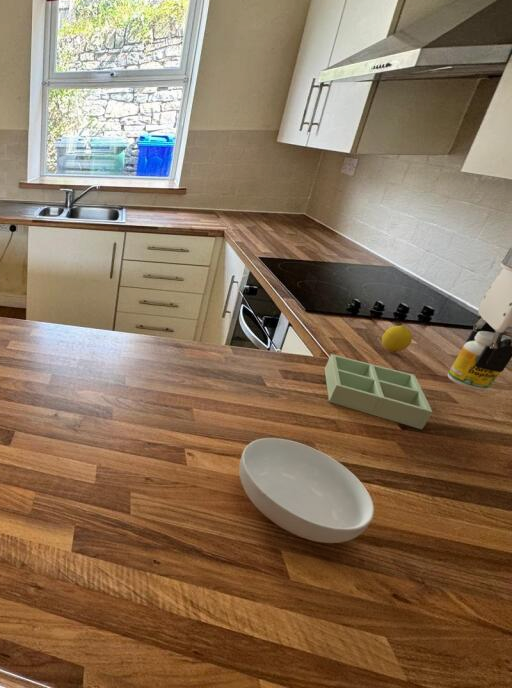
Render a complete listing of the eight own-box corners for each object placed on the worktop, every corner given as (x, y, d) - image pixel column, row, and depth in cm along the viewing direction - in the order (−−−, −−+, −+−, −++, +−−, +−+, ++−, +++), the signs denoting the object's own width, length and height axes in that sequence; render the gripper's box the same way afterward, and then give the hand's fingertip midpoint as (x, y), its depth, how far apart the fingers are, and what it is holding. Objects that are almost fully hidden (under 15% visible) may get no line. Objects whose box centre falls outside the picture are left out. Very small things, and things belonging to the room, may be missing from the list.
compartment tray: (405, 391, 93) (414, 374, 91) (422, 429, 82) (432, 412, 80) (324, 369, 101) (331, 353, 99) (328, 401, 89) (336, 385, 87)
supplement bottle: (476, 377, 74) (505, 332, 70) (497, 394, 70) (528, 347, 65) (439, 371, 76) (465, 326, 72) (457, 387, 71) (485, 341, 67)
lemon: (386, 355, 107) (399, 329, 104) (372, 345, 112) (384, 320, 109) (409, 358, 107) (423, 331, 103) (394, 347, 111) (407, 322, 108)
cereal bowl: (213, 464, 72) (223, 435, 69) (306, 468, 72) (321, 438, 69) (267, 558, 57) (283, 525, 54) (385, 563, 57) (408, 530, 54)
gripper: (612, 286, 55) (535, 393, 62) (548, 253, 68) (491, 345, 75) (531, 275, 58) (467, 377, 66) (485, 246, 71) (436, 334, 79)
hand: (481, 359), depth 71 cm, fingers closed on supplement bottle, 5 cm apart
